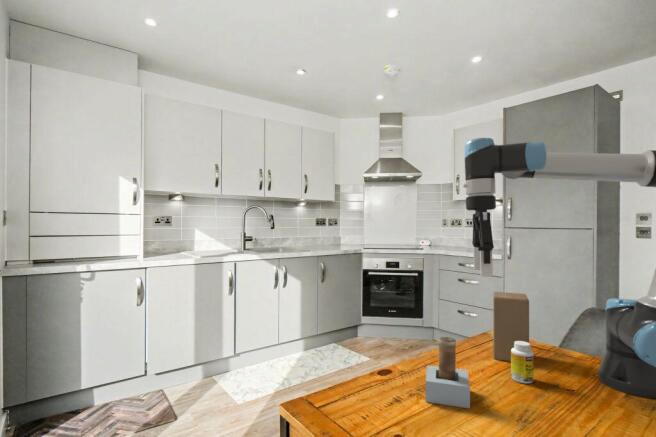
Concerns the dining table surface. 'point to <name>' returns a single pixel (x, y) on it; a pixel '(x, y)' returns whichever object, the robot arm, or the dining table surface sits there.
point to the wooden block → (509, 323)
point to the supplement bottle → (522, 362)
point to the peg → (447, 358)
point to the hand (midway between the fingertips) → (482, 273)
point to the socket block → (448, 388)
